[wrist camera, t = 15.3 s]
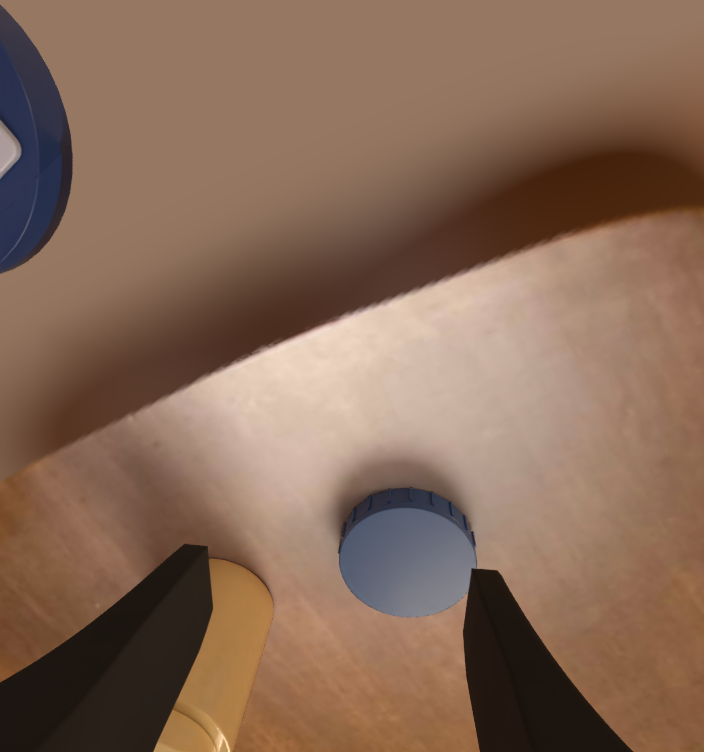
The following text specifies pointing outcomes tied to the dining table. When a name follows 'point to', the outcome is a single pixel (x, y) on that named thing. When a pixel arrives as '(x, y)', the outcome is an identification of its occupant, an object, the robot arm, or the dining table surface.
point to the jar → (222, 665)
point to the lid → (407, 553)
